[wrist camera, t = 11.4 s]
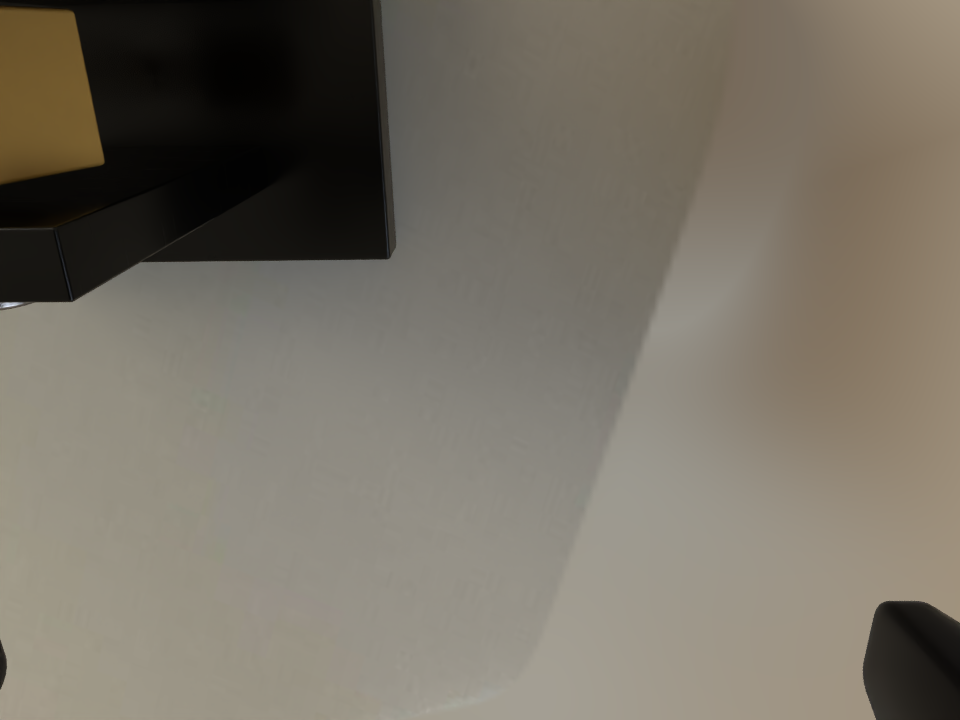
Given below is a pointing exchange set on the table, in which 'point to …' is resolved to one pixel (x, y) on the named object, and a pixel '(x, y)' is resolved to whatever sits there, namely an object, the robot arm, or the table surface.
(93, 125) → the rod lever
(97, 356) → the table surface
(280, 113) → the rod bracket
